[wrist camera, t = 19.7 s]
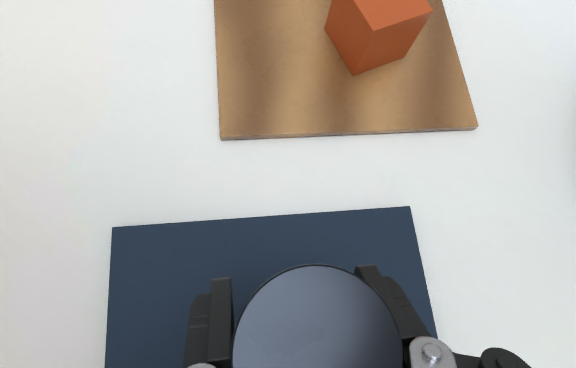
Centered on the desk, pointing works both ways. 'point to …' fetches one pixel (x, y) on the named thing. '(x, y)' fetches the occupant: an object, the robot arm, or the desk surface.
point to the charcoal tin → (316, 323)
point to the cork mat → (329, 77)
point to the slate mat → (240, 270)
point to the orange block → (375, 30)
